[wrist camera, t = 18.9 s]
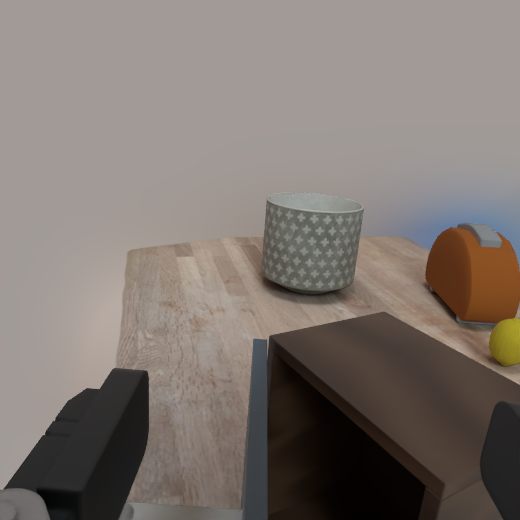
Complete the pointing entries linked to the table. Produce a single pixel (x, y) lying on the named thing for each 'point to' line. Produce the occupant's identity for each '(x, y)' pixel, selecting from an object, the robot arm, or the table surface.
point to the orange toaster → (475, 274)
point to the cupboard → (377, 424)
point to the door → (255, 464)
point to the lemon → (506, 342)
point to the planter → (311, 241)
